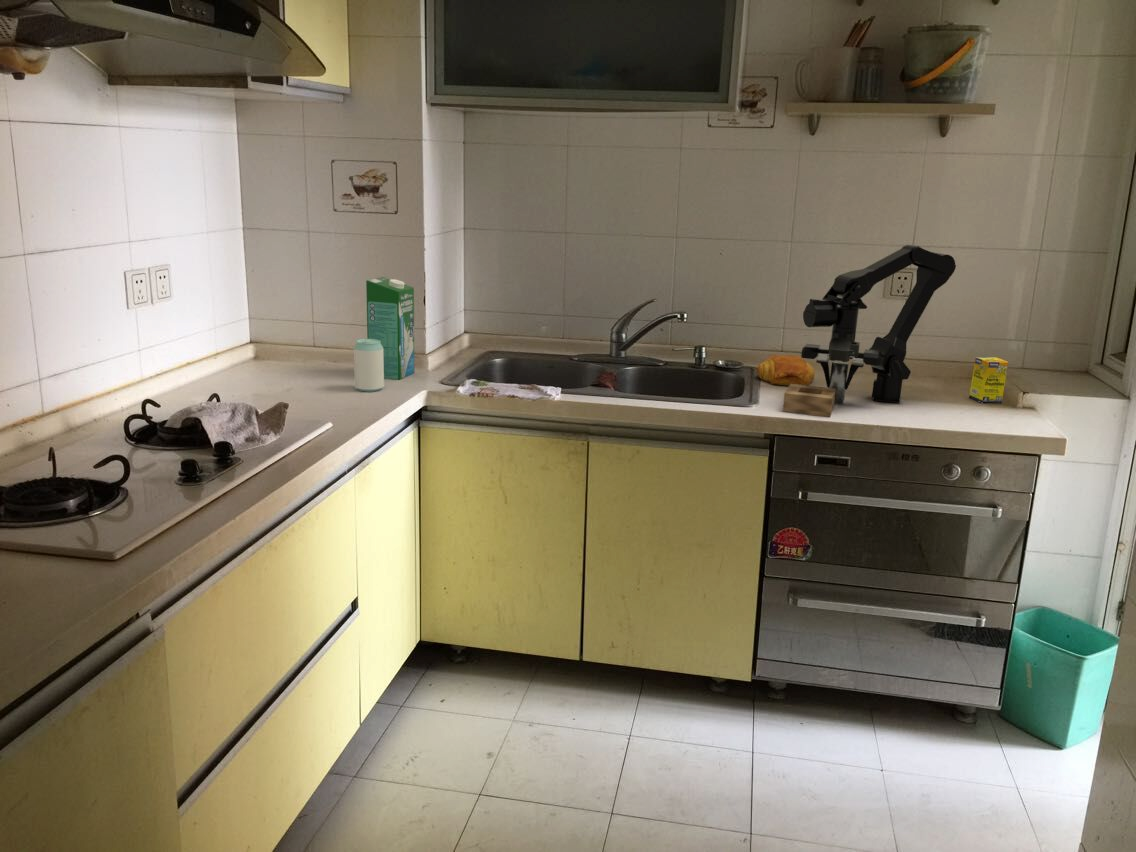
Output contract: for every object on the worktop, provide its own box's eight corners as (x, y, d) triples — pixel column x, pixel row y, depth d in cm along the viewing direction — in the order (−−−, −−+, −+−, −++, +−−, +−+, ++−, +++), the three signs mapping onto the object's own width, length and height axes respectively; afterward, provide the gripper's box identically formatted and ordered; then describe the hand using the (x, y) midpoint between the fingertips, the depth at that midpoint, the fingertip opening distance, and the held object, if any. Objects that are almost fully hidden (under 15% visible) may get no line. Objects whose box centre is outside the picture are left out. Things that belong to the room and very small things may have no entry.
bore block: (833, 406, 236) (835, 388, 235) (829, 417, 226) (832, 398, 225) (788, 401, 239) (790, 383, 238) (782, 411, 229) (784, 393, 228)
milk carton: (399, 380, 246) (398, 282, 239) (367, 376, 248) (365, 279, 241) (414, 372, 254) (414, 278, 247) (383, 369, 256) (382, 276, 249)
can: (379, 393, 232) (379, 344, 229) (351, 391, 232) (350, 342, 229) (387, 386, 239) (386, 338, 235) (359, 384, 239) (358, 337, 236)
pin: (844, 401, 241) (849, 362, 239) (843, 404, 238) (847, 365, 235) (828, 399, 243) (832, 360, 240) (826, 402, 239) (831, 363, 236)
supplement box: (981, 403, 245) (988, 361, 242) (968, 397, 250) (974, 356, 247) (1002, 403, 246) (1009, 361, 243) (989, 397, 251) (995, 356, 248)
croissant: (757, 381, 270) (755, 353, 268) (813, 377, 267) (812, 349, 265) (758, 391, 256) (757, 362, 254) (818, 388, 253) (817, 358, 251)
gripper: (801, 328, 231) (795, 390, 235) (882, 335, 225) (874, 399, 229) (807, 321, 241) (800, 381, 245) (884, 328, 235) (876, 390, 239)
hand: (837, 388), depth 239 cm, fingers closed on pin, 4 cm apart
